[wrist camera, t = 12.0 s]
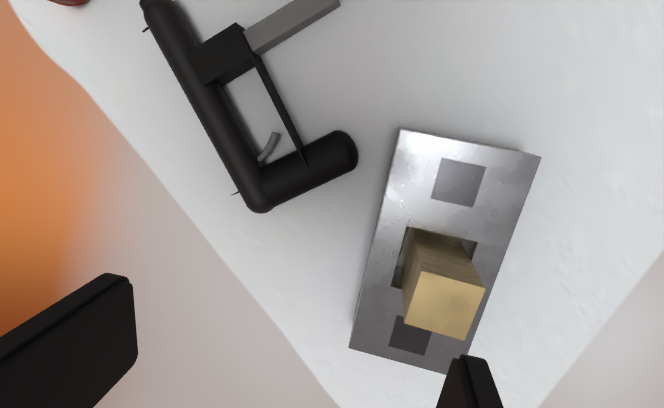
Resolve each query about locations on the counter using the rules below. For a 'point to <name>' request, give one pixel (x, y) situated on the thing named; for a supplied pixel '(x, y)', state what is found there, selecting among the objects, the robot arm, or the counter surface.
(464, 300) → the brass peg
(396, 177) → the grey peg hole block
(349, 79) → the counter surface
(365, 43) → the counter surface
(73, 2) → the snack package
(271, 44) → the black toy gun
